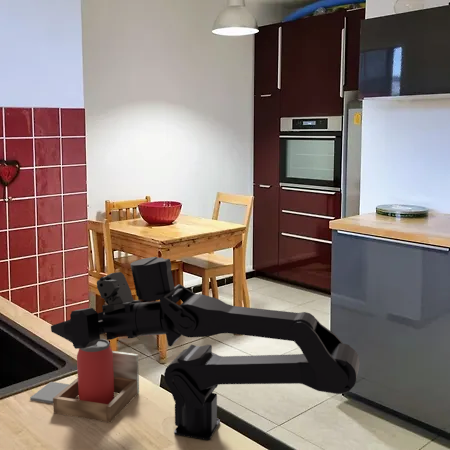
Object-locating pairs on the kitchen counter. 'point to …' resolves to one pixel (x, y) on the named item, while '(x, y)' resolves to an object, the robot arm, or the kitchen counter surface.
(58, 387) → the plate
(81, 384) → the beer can
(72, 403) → the drawer
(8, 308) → the kitchen counter surface
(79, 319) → the robot arm
